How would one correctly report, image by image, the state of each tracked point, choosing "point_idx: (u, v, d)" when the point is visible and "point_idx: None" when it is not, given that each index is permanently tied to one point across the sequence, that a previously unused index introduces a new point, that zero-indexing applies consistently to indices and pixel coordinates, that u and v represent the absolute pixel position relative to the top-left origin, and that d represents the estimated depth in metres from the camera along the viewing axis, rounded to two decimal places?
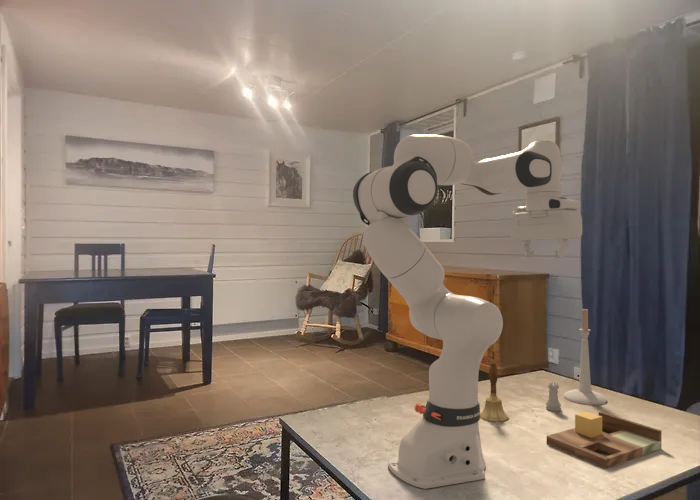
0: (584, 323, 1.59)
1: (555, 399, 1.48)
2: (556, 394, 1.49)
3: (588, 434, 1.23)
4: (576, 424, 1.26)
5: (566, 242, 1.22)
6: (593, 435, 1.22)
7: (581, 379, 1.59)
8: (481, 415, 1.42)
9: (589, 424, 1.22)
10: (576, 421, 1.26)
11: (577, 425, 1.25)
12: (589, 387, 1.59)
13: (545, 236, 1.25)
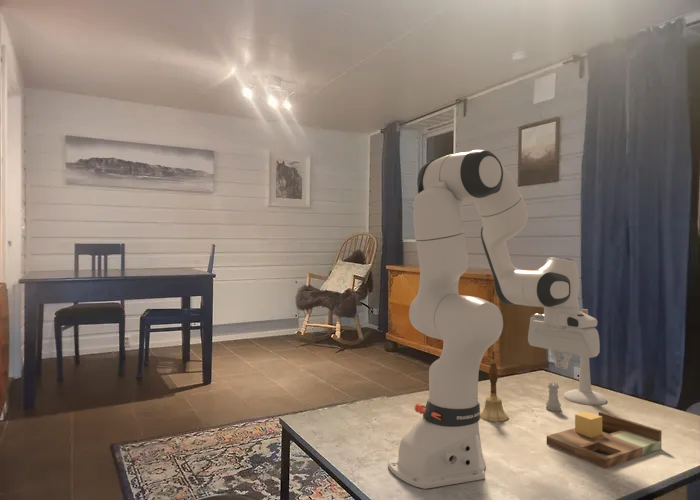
0: None
1: (555, 399, 1.48)
2: (556, 394, 1.49)
3: (588, 434, 1.23)
4: (576, 424, 1.26)
5: (570, 355, 1.30)
6: (593, 435, 1.22)
7: (581, 379, 1.59)
8: (481, 415, 1.42)
9: (589, 424, 1.22)
10: (576, 421, 1.26)
11: (577, 425, 1.25)
12: (589, 387, 1.59)
13: (563, 349, 1.29)
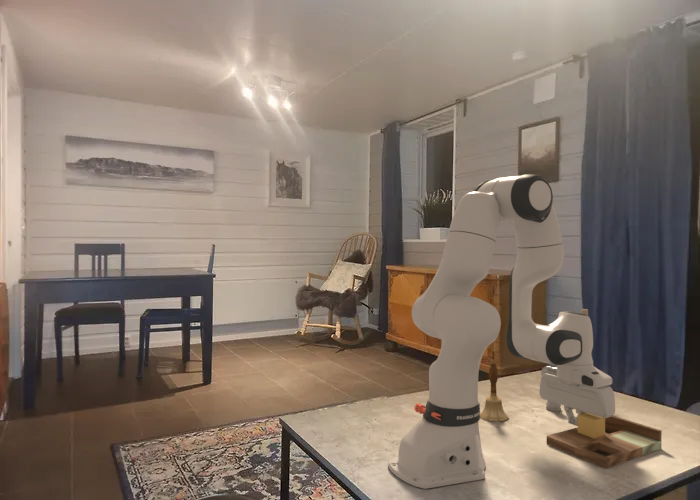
0: None
1: None
2: None
3: (591, 435, 1.22)
4: (578, 425, 1.25)
5: (584, 412, 1.27)
6: (596, 436, 1.22)
7: None
8: (481, 415, 1.42)
9: (592, 425, 1.22)
10: (579, 422, 1.25)
11: (580, 426, 1.25)
12: None
13: (577, 407, 1.26)
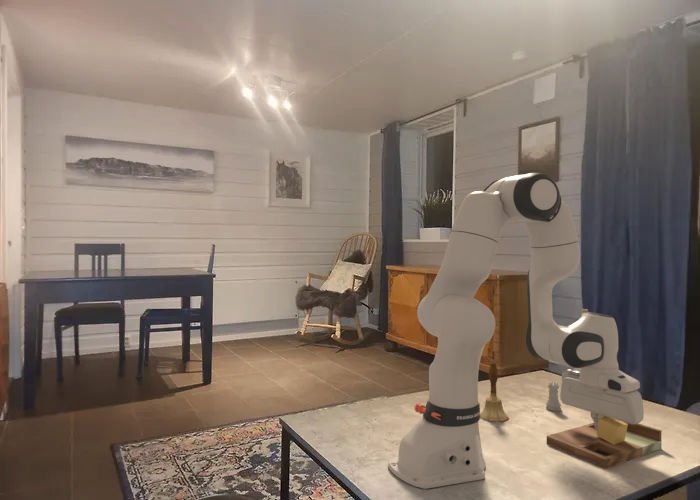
0: None
1: (555, 399, 1.48)
2: (556, 394, 1.49)
3: (611, 441, 1.18)
4: (599, 428, 1.21)
5: None
6: (616, 442, 1.18)
7: None
8: (481, 415, 1.42)
9: (614, 432, 1.17)
10: (600, 425, 1.20)
11: (600, 429, 1.20)
12: None
13: (602, 412, 1.20)
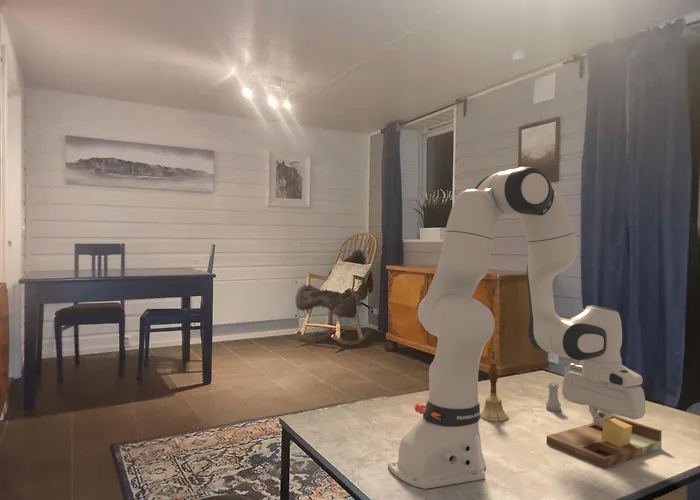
0: None
1: (555, 399, 1.48)
2: (556, 394, 1.49)
3: (616, 443, 1.16)
4: (603, 431, 1.19)
5: (611, 413, 1.19)
6: (621, 445, 1.16)
7: None
8: (481, 415, 1.42)
9: (619, 434, 1.16)
10: (604, 428, 1.19)
11: (605, 432, 1.19)
12: None
13: (603, 407, 1.19)
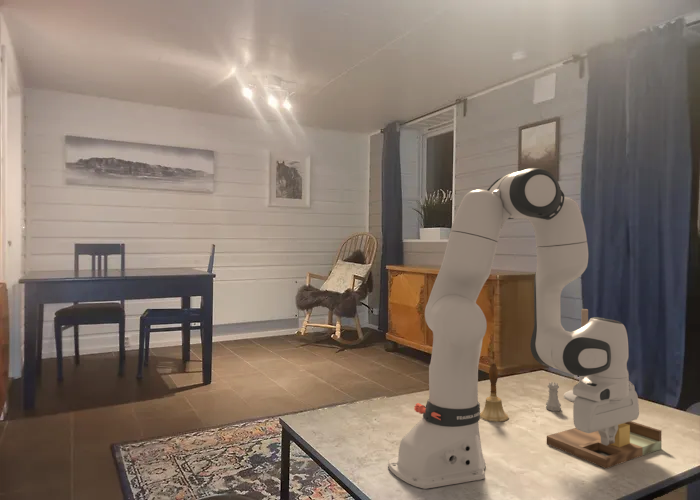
0: (584, 323, 1.59)
1: (555, 399, 1.48)
2: (556, 394, 1.49)
3: (616, 444, 1.16)
4: None
5: (602, 429, 1.14)
6: (621, 445, 1.16)
7: (581, 379, 1.59)
8: (481, 415, 1.42)
9: (617, 433, 1.16)
10: None
11: None
12: None
13: None
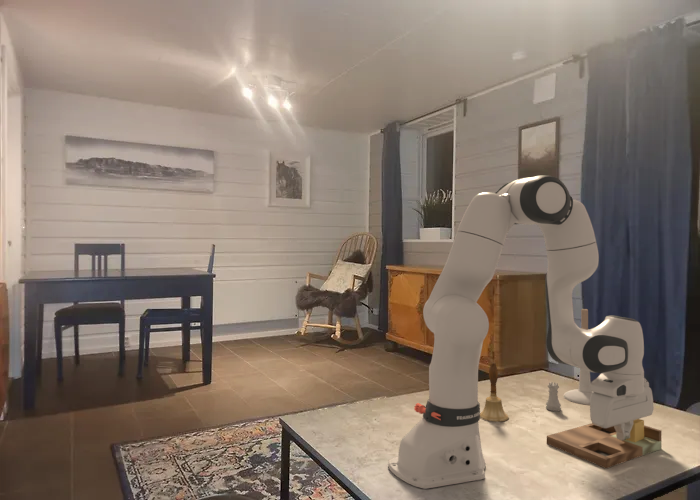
0: (584, 323, 1.59)
1: (555, 399, 1.48)
2: (556, 394, 1.49)
3: (631, 439, 1.19)
4: None
5: (618, 425, 1.17)
6: (636, 440, 1.19)
7: (581, 379, 1.59)
8: (481, 415, 1.42)
9: (632, 429, 1.19)
10: None
11: None
12: (589, 387, 1.59)
13: None
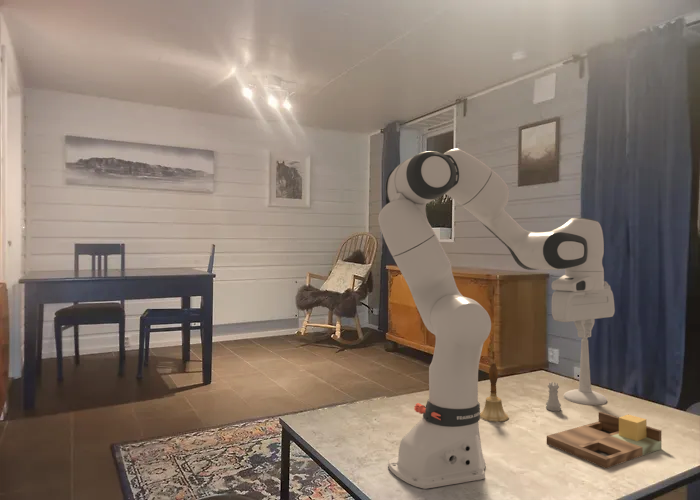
0: None
1: (555, 399, 1.48)
2: (556, 394, 1.49)
3: (634, 438, 1.20)
4: (620, 428, 1.23)
5: (579, 322, 1.21)
6: (639, 438, 1.20)
7: (581, 379, 1.59)
8: (481, 415, 1.42)
9: (635, 428, 1.20)
10: (620, 424, 1.23)
11: (621, 429, 1.23)
12: (589, 387, 1.59)
13: None
